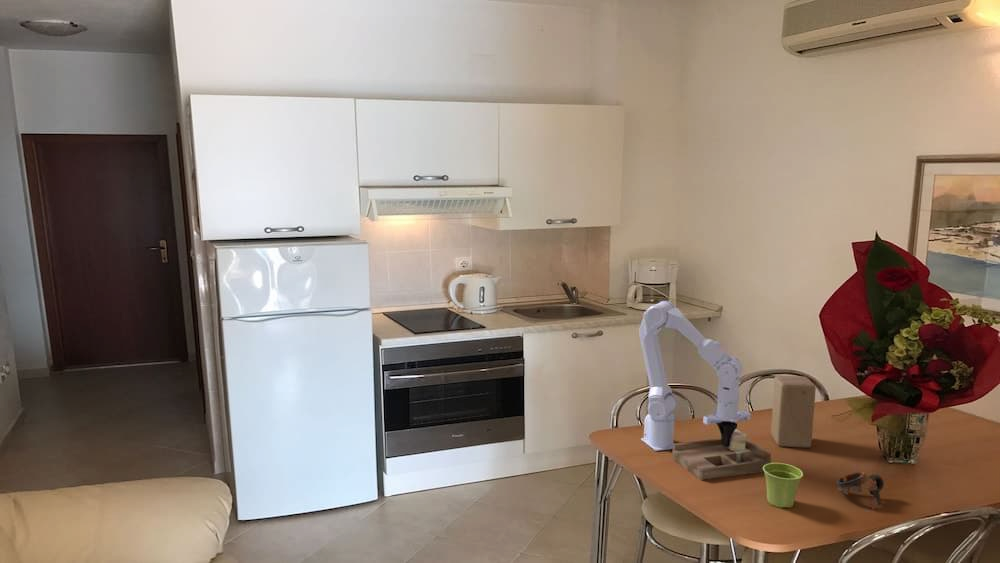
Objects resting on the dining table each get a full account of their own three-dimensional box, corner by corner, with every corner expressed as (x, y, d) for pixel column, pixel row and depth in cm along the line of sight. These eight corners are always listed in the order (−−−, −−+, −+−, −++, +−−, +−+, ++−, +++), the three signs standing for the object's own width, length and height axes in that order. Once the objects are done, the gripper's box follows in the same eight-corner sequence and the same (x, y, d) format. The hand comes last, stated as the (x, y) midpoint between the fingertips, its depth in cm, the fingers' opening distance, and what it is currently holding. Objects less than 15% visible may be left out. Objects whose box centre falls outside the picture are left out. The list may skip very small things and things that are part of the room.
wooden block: (812, 449, 209) (816, 385, 206) (777, 447, 211) (781, 383, 208) (803, 436, 219) (807, 375, 216) (769, 435, 220) (773, 374, 217)
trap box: (672, 458, 202) (672, 442, 201) (737, 450, 208) (738, 434, 207) (701, 480, 188) (702, 462, 187) (769, 470, 194) (771, 453, 193)
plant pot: (806, 502, 175) (808, 469, 174) (792, 515, 168) (795, 482, 167) (769, 491, 182) (771, 459, 180) (755, 503, 175) (757, 471, 173)
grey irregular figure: (868, 515, 170) (851, 483, 171) (840, 515, 178) (825, 484, 180) (900, 494, 174) (884, 463, 176) (872, 495, 183) (856, 465, 184)
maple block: (722, 444, 204) (724, 430, 203) (735, 444, 205) (737, 429, 204) (731, 450, 199) (733, 435, 199) (744, 450, 201) (746, 435, 200)
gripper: (714, 407, 193) (711, 453, 195) (758, 402, 197) (755, 447, 200) (699, 399, 200) (697, 444, 202) (742, 395, 204) (740, 438, 206)
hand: (725, 445), depth 201 cm, fingers closed, pressing on maple block
